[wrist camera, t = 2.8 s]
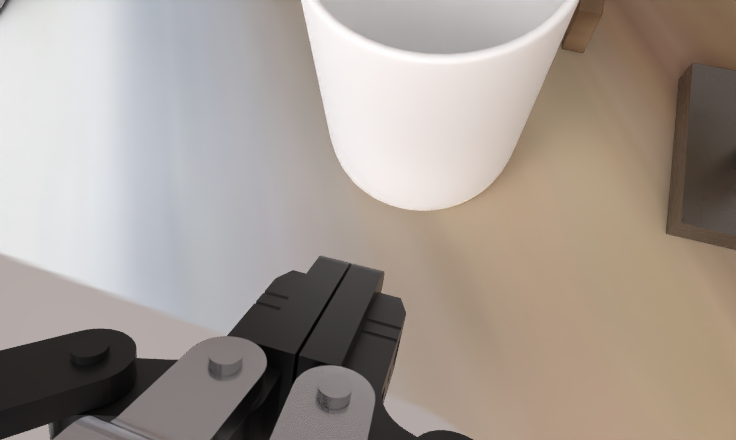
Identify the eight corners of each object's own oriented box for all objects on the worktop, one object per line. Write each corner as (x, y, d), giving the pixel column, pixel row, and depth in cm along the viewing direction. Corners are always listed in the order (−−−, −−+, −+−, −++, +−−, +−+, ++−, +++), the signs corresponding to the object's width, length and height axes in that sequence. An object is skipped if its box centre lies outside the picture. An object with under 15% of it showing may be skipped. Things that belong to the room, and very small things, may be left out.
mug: (379, -9, 27) (372, -243, 18) (538, 20, 26) (621, -214, 17) (308, 192, 23) (250, 26, 14) (493, 237, 22) (570, 90, 13)
